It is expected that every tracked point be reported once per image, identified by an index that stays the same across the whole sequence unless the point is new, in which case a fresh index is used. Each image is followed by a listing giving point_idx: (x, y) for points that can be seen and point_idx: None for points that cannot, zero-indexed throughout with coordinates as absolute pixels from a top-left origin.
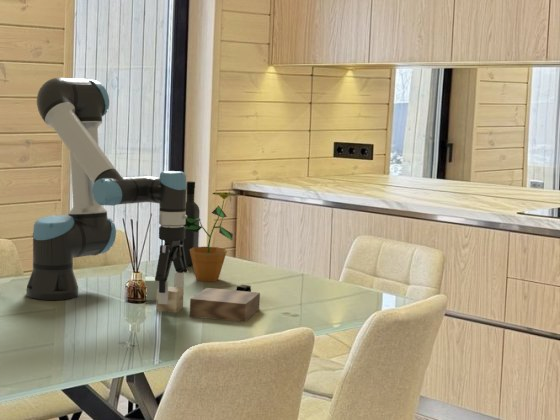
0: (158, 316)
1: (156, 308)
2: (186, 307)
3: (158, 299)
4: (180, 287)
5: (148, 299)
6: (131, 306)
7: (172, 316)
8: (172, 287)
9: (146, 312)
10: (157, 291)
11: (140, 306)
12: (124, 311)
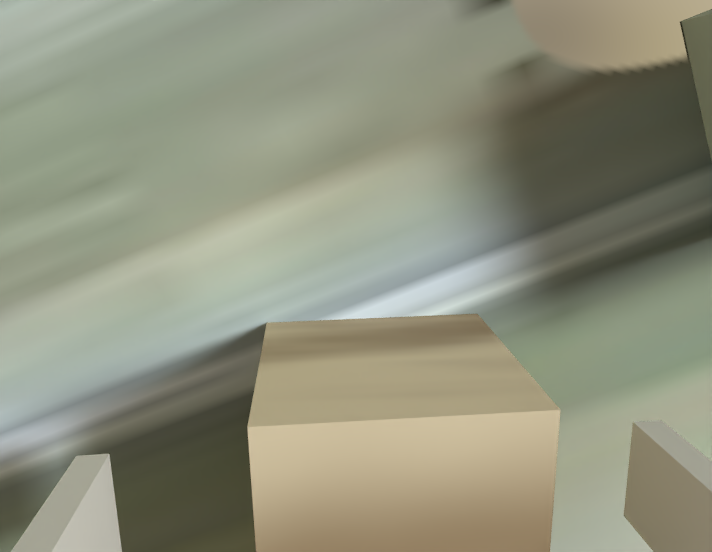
0: (43, 434)
1: (265, 332)
2: None
3: (57, 490)
4: (678, 547)
5: (695, 65)
6: (321, 5)
7: None
8: (514, 539)
9: (136, 270)
10: (251, 426)
11: (365, 103)
12: (52, 29)
